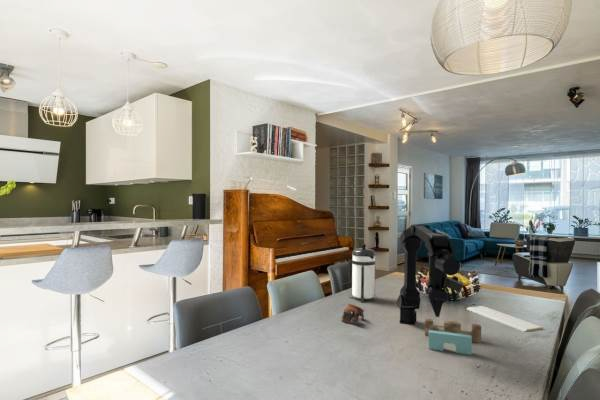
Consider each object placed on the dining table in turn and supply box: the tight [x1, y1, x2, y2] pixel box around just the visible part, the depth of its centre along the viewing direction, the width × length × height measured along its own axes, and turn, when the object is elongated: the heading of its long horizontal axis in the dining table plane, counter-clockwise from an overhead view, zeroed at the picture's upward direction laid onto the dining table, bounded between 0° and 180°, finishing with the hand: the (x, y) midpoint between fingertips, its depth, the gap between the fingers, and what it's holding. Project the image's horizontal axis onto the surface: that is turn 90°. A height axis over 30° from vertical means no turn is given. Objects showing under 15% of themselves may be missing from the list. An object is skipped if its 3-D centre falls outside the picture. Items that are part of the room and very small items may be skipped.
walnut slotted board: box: [424, 318, 482, 344], centre depth 136 cm, size 20×2×6 cm, turn 71°
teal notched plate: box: [428, 330, 473, 356], centre depth 124 cm, size 14×2×6 cm, turn 71°
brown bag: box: [340, 303, 365, 325], centre depth 153 cm, size 12×10×8 cm
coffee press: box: [347, 243, 378, 303], centre depth 190 cm, size 17×16×30 cm
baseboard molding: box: [466, 303, 543, 333], centre depth 160 cm, size 31×3×12 cm
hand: (436, 312), depth 126 cm, fingers open, 9 cm apart
